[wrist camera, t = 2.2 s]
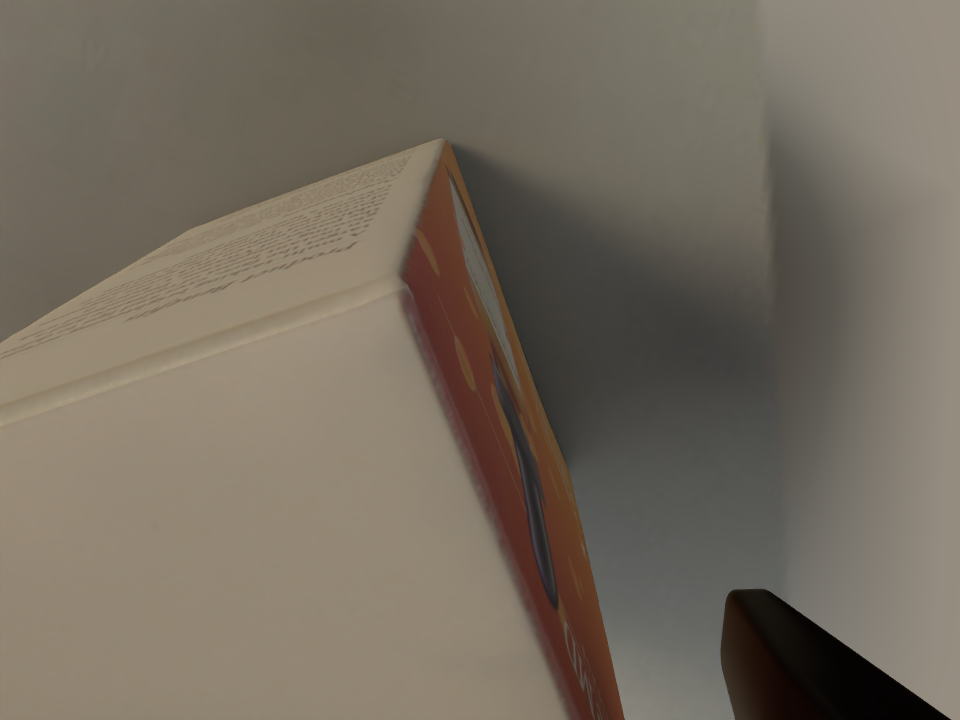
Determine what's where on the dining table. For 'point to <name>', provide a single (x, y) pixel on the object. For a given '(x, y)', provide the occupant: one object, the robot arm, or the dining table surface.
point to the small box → (294, 479)
